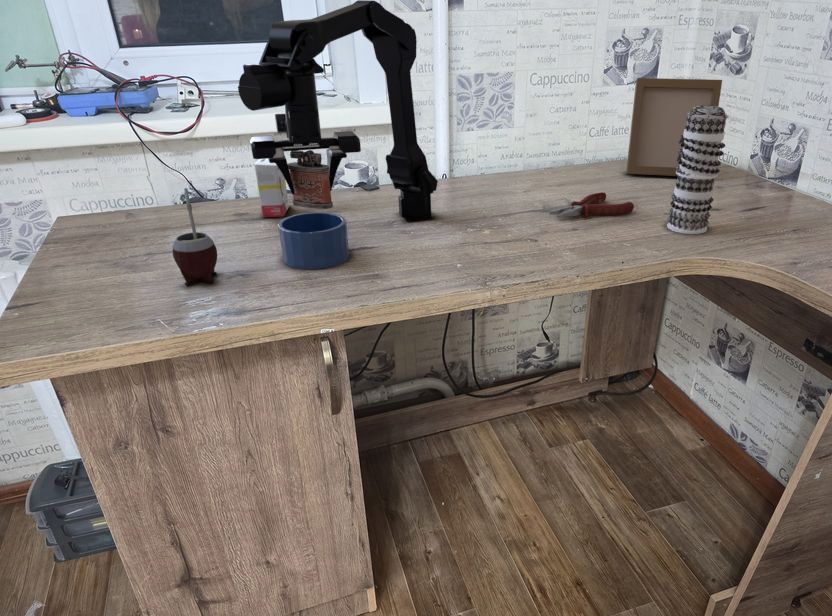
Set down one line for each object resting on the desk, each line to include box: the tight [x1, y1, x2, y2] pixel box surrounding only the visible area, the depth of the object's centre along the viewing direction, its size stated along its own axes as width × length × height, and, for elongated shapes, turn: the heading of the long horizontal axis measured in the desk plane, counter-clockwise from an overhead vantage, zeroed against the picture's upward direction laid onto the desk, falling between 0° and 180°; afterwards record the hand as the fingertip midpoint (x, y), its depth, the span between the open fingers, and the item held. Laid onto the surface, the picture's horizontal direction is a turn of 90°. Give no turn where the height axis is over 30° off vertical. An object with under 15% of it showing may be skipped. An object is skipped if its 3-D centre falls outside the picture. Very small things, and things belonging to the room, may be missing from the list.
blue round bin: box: [277, 211, 350, 270], centre depth 120 cm, size 12×12×7 cm
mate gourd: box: [172, 187, 218, 287], centre depth 108 cm, size 8×8×15 cm
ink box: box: [253, 158, 290, 218], centre depth 143 cm, size 9×5×12 cm, turn 5°
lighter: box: [287, 150, 334, 210], centre depth 115 cm, size 8×3×10 cm, turn 71°
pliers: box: [548, 191, 635, 218], centre depth 146 cm, size 12×20×3 cm, turn 122°
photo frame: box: [625, 77, 723, 177], centre depth 174 cm, size 15×22×25 cm
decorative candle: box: [666, 105, 729, 235], centre depth 131 cm, size 9×9×25 cm
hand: (311, 192), depth 116 cm, fingers closed on lighter, 6 cm apart
